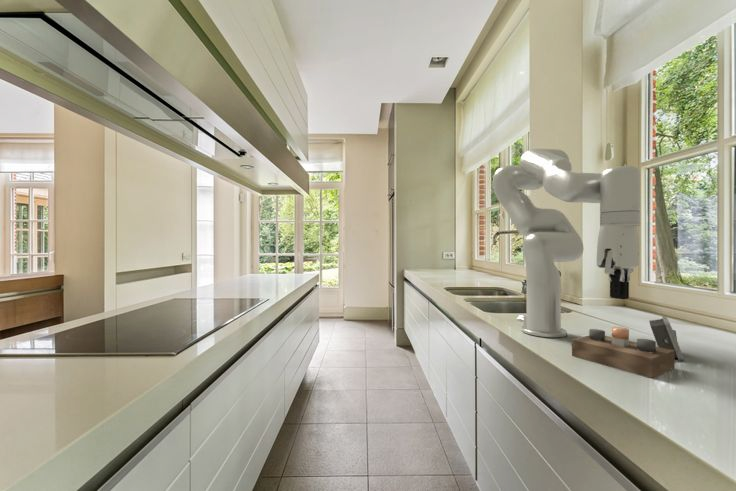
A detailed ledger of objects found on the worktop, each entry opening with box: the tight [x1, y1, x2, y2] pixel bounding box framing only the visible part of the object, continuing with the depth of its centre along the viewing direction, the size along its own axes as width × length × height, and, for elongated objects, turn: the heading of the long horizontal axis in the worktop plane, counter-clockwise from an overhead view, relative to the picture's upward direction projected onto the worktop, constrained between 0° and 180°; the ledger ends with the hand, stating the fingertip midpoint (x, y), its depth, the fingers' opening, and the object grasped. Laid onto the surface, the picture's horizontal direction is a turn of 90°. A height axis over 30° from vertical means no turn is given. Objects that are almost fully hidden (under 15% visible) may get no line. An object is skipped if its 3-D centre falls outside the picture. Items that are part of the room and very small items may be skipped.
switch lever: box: [588, 328, 606, 342], centre depth 82 cm, size 3×3×6 cm
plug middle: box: [611, 326, 630, 347], centre depth 78 cm, size 3×3×6 cm
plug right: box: [636, 338, 657, 354], centre depth 73 cm, size 3×3×6 cm
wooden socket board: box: [571, 335, 676, 379], centre depth 78 cm, size 16×11×4 cm
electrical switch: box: [648, 315, 684, 361], centre depth 83 cm, size 9×5×9 cm, turn 141°
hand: (619, 298), depth 78 cm, fingers closed
